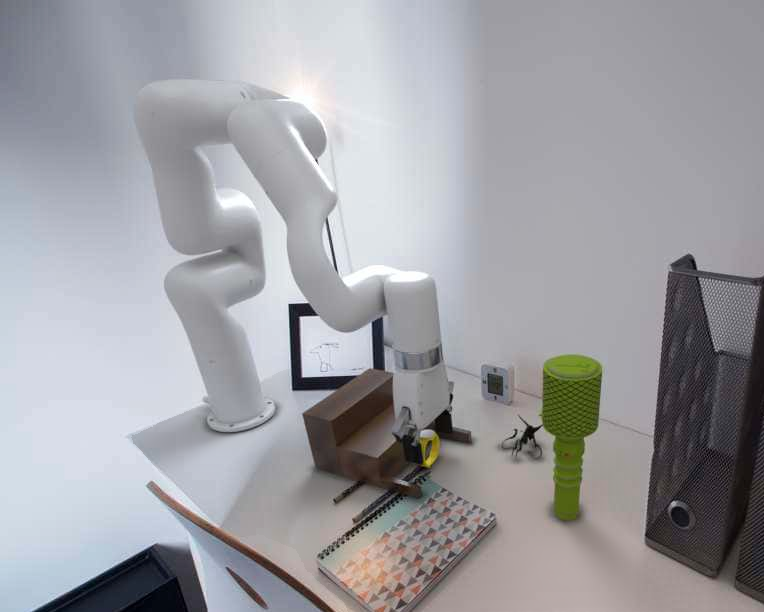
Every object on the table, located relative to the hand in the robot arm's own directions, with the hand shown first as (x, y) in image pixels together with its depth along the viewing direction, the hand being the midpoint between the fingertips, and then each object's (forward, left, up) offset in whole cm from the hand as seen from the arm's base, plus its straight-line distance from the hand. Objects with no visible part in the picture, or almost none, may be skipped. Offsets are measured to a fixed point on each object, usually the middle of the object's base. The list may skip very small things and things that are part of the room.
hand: (430, 446), depth 90 cm
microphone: (+25, -3, -4) cm, 26 cm away
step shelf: (-7, 0, -4) cm, 8 cm away
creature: (+13, +10, -4) cm, 17 cm away
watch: (0, 0, -4) cm, 4 cm away
